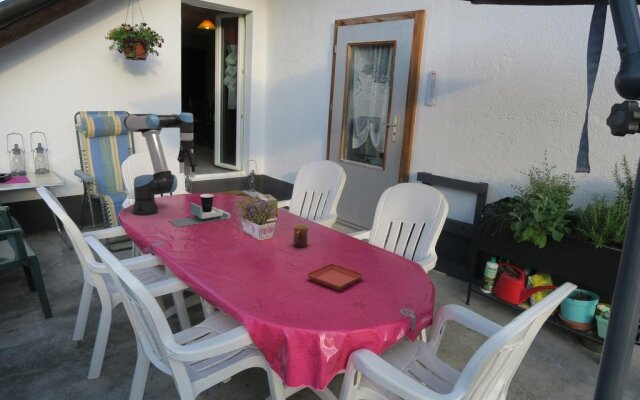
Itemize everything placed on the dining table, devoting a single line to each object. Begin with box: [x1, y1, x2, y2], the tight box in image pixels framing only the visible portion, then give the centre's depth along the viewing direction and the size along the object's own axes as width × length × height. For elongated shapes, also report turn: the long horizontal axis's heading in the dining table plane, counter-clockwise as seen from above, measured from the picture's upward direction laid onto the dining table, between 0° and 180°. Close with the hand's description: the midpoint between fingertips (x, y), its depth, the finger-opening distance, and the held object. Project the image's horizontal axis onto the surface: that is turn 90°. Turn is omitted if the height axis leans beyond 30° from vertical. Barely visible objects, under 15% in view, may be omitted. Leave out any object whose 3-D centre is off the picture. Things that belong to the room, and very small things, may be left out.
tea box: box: [254, 194, 279, 219], centre depth 267 cm, size 15×10×15 cm
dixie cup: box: [199, 193, 214, 214], centre depth 264 cm, size 8×8×11 cm
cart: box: [189, 202, 224, 221], centre depth 264 cm, size 14×15×9 cm
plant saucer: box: [306, 263, 364, 291], centre depth 185 cm, size 18×18×3 cm
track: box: [167, 208, 232, 228], centre depth 262 cm, size 14×34×3 cm, turn 130°
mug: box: [292, 223, 310, 248], centre depth 223 cm, size 12×9×10 cm
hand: (187, 175), depth 258 cm, fingers open, 13 cm apart
